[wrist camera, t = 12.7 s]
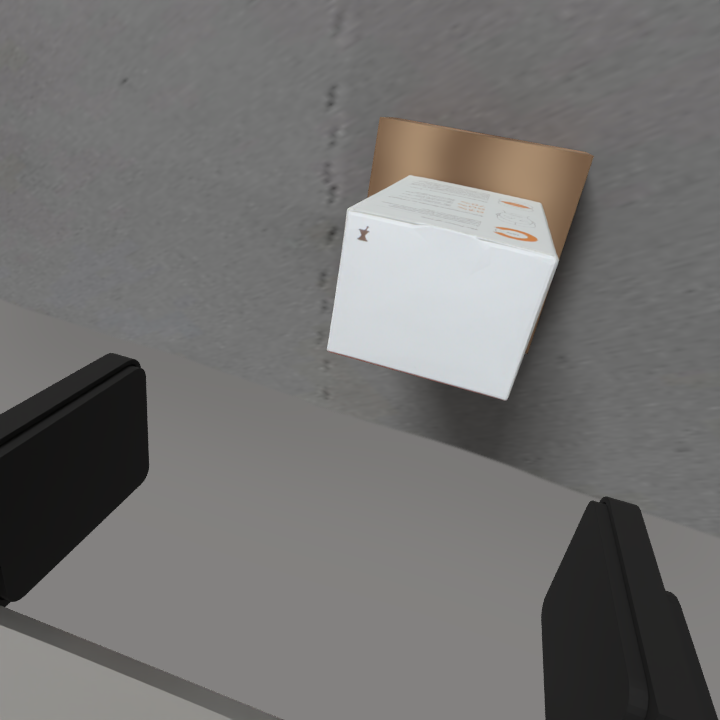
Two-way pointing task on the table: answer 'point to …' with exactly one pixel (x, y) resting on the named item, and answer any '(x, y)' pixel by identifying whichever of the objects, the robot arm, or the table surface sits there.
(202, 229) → the table surface
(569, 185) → the walnut base
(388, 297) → the small box
